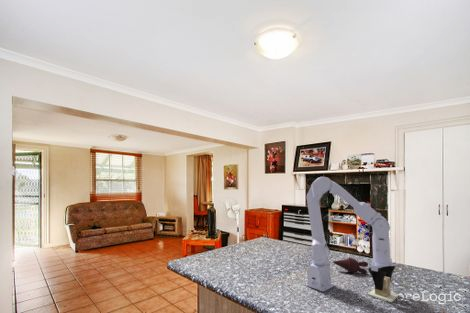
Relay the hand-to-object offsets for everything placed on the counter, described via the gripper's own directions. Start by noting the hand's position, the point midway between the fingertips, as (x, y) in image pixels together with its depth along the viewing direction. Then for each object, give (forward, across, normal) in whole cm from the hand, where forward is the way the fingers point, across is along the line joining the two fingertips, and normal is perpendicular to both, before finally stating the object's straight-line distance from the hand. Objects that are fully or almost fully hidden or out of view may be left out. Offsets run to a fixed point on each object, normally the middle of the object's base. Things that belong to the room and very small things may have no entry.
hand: (382, 286), depth 96 cm
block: (+3, 0, 0) cm, 3 cm away
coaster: (+3, 0, 0) cm, 3 cm away
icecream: (+3, +15, +19) cm, 25 cm away
